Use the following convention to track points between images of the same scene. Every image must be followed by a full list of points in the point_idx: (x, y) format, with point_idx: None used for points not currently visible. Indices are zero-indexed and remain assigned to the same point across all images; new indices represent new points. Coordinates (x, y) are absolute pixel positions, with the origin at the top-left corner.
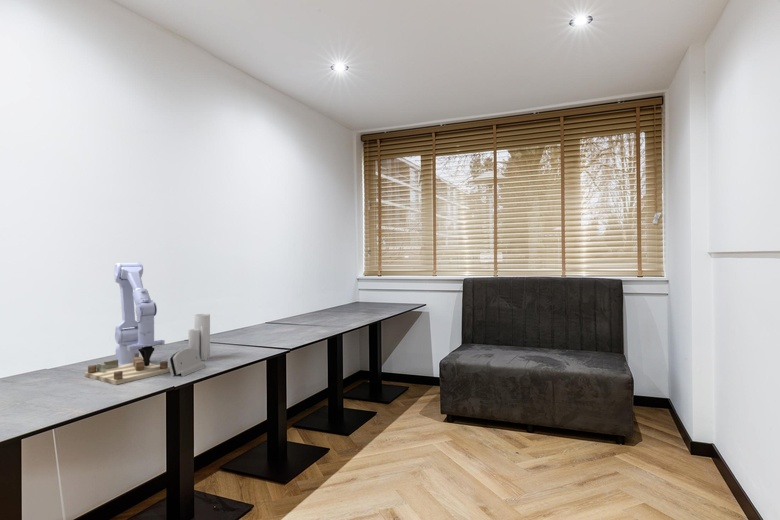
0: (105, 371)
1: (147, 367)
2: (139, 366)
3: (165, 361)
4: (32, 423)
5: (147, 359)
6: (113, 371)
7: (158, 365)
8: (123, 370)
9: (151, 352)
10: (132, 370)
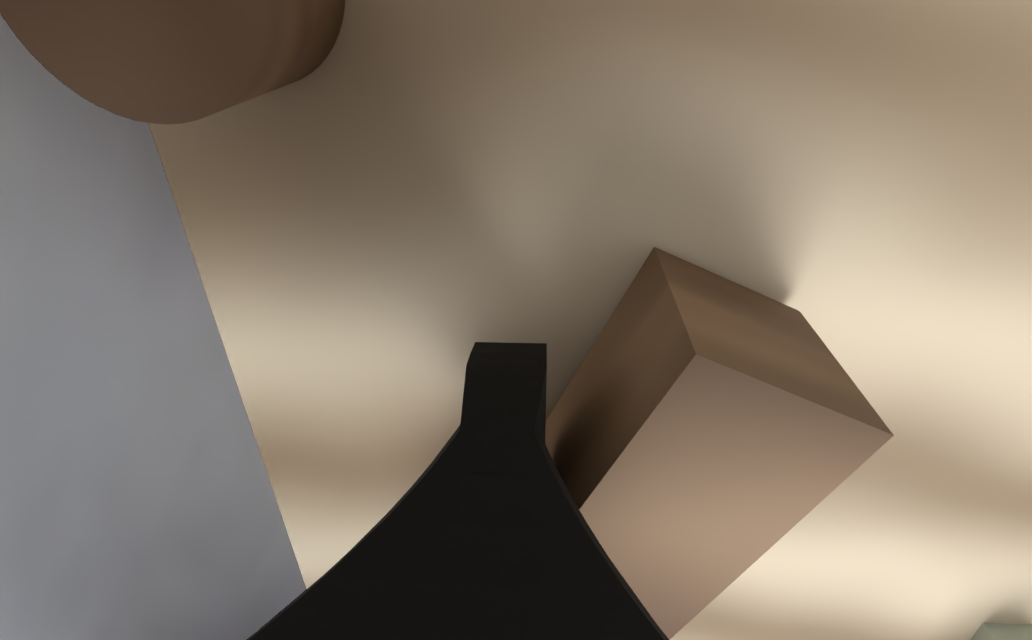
0: (986, 630)
1: None
2: (777, 332)
3: (42, 36)
4: None
5: (535, 439)
6: (930, 572)
7: (247, 356)
8: (824, 518)
9: (345, 633)
10: None
